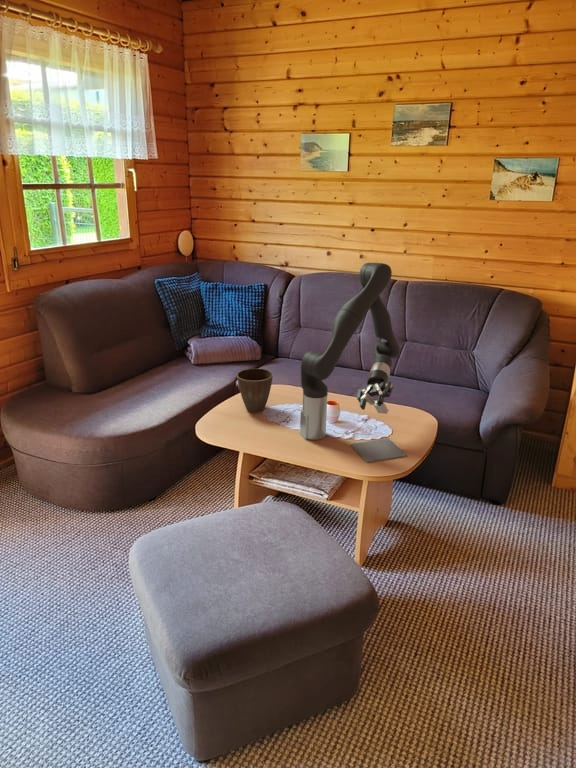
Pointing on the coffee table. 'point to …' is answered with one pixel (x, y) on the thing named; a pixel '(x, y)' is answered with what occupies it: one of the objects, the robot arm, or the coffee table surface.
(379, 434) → the coffee table surface
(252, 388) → the plant pot
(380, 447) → the mat
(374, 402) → the lighter
